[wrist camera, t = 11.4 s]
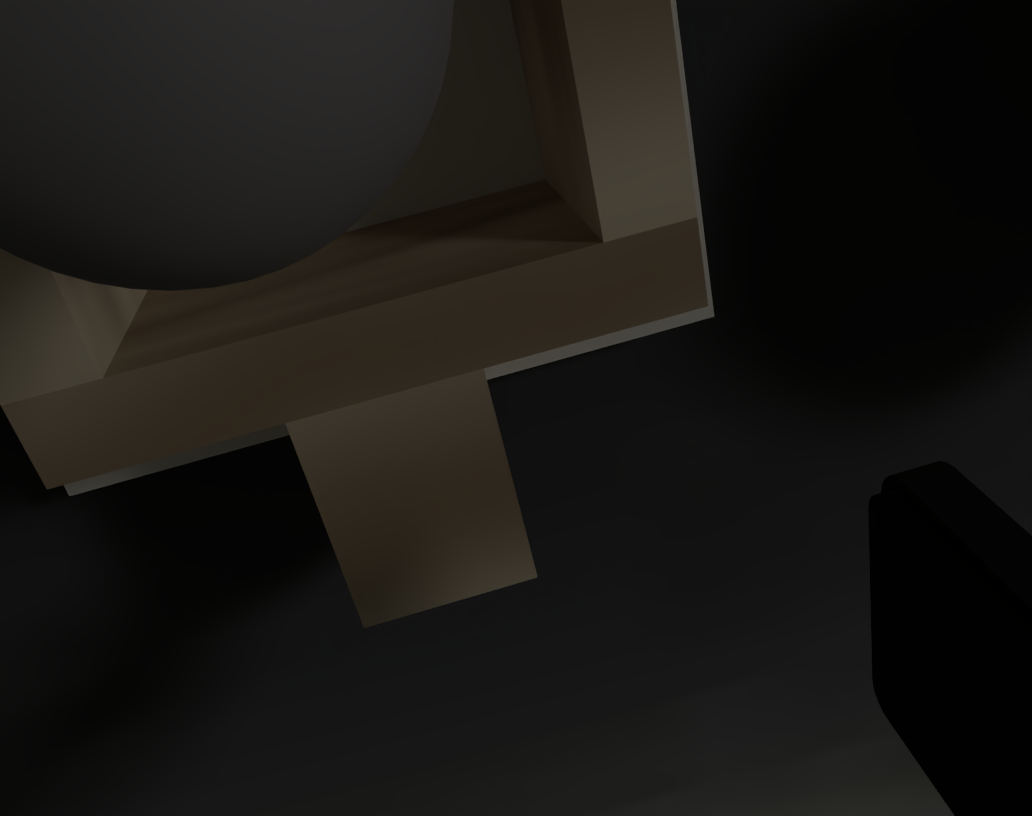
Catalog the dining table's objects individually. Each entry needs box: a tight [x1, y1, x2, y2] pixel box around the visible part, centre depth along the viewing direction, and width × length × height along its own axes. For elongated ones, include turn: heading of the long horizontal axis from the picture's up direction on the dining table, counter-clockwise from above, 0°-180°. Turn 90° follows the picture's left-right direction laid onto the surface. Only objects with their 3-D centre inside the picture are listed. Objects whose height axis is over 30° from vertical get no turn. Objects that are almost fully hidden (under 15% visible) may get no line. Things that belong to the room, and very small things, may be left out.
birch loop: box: [0, 0, 708, 628], centre depth 14 cm, size 14×10×4 cm
